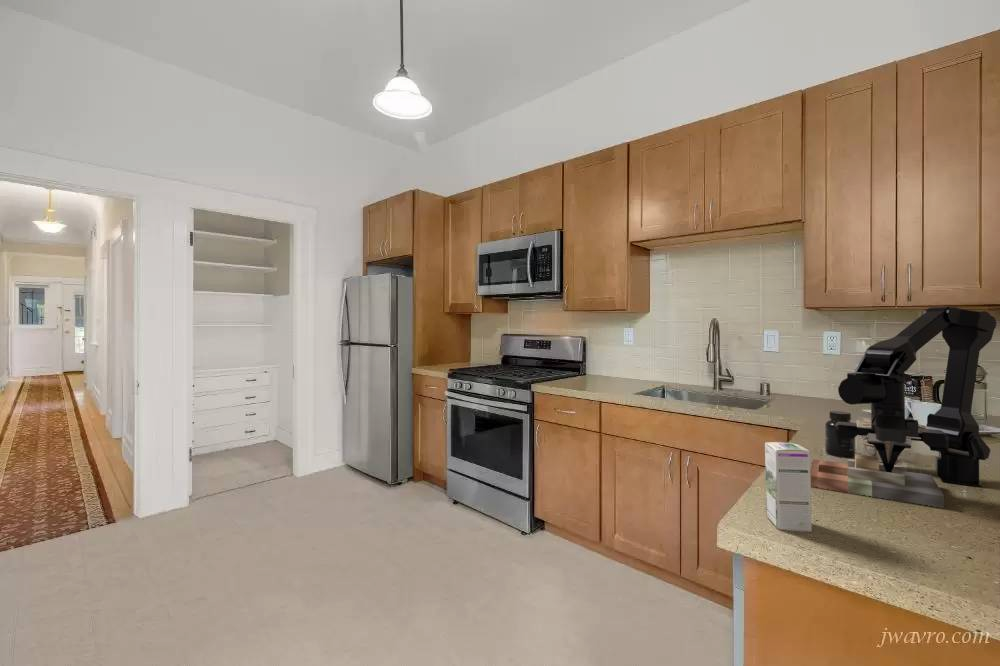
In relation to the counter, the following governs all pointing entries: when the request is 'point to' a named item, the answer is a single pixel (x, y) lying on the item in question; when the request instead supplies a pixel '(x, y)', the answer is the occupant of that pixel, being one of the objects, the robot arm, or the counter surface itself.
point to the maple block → (866, 462)
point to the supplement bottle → (837, 444)
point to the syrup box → (788, 486)
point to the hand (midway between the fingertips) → (888, 472)
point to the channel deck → (877, 482)
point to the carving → (870, 448)
